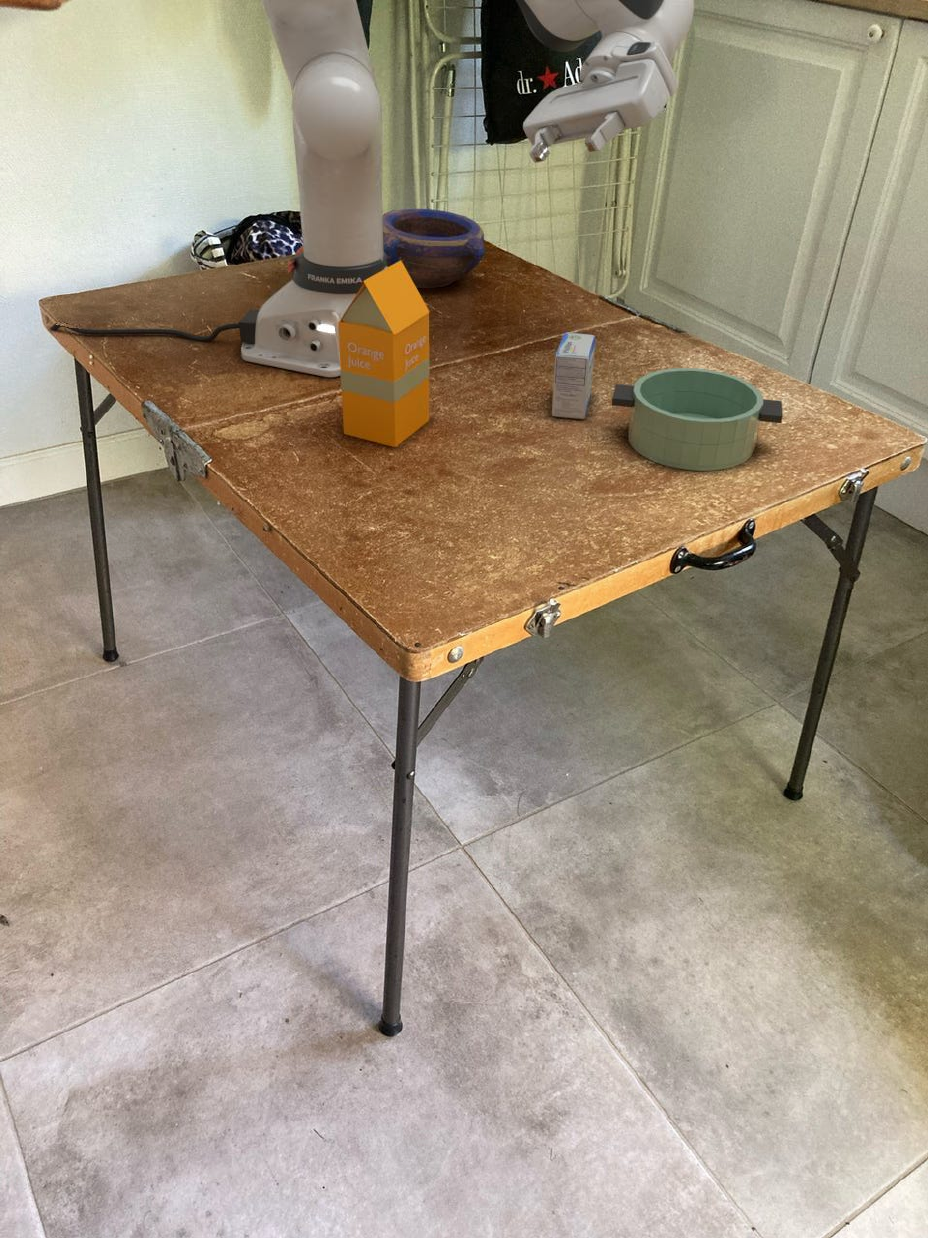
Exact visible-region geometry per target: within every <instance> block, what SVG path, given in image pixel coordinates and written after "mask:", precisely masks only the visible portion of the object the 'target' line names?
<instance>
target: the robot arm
mask: <svg viewBox="0 0 928 1238" xmlns="http://www.w3.org/2000/svg"><path fill="white" fill-rule="evenodd" d="M515 1H516V3H517V5H518V7H519V8H520V10H521V13H522V15H523V18H524V20H525V21H526V24H527V25H528V27H529V29H530V31H531V32H532V34H533V35H534V37H535V38H536V39H537V40H538V41H539V42H540V43H542V44H543V45H544V46H545V47H547V48H548V49H550V50H553V51H556V52H560V53H561V52H563V53H567V52H571V51H573V50H576V49H577V48H578V47H579V46H581V45H582V44H583V43H585V42H586V41H587V40H589V39H590V38H591V37H592V36H593V35H595V34H596V33H598V32H600V33H601V39H600V40H599V42H598V43H597V45H596V46H595V47H594V48H593V50H592V51H591V52H590V53H589V55H588V56H587V58H586V59H585V60H584V62H583V63H582V65H581V67H580V71H579V82H578V83H574V84H570V85H568V86H563V87H559V88H557V89H554V90H552V91H551V92H549V93H548V94H546V96H544V97H543V99H542V100H541V101H540V102H538V104H537V105H536V106H535V107H534V109H533V110H532V111H531V113H530V114H529V115H528V116H526V118H525V120H524V121H523V123H522V129H523V131H524V133H525V136H526V137H527V139H528V141H529V142H530V144H531V145H532V147H531V148H530V150H529V156H530V158H531V160H532V161H533V163H540V162H544V161H546V160H547V158H548V157H549V155H550V154H551V153H550V150H549V148H550V147H552V146H554V145H558V144H563V143H568V142H574V141H578V140H583V139H584V145H585V147H586V148H587V151H588V152H590V153H593V152H599V151H601V150H602V149H603V147H604V146H605V145H606V143H608V142H609V141H610V140H612V139H613V138H615V137H616V136H618V135H619V134H620V133H621V132H622V131H625V130H632V129H635V128H641V127H645V126H647V125H648V124H650V123H651V122H653V121H655V119H656V118H658V116H659V114H660V113H661V112H662V111H663V109H664V108H665V107H666V105H667V103H668V102H669V100H670V98H671V97H673V95H674V94H675V93H676V92H677V91H678V89H679V83H678V80H677V77H676V75H675V72H674V69H673V67H672V65H671V64H670V62H671V61H672V59H673V58H674V57H675V55H676V53H677V52H678V50H680V47H681V45H682V44H683V42H684V41H685V38H686V37H687V35H688V33H689V30H690V28H691V26H692V23H693V18H694V12H695V0H515ZM261 2H262V6H263V11H264V13H265V16H266V18H267V20H268V24H269V27H270V30H271V32H272V36H273V38H274V41H275V44H276V47H277V50H278V53H279V57H280V59H281V62H282V65H283V68H284V72H285V75H286V77H287V81H288V84H289V88H290V92H291V117H292V118H291V122H292V130H293V144H294V156H295V167H296V176H297V177H296V178H297V188H298V197H299V198H298V199H299V211H300V225H301V228H300V229H301V240H302V241H301V242H302V245H301V246H300V248H298V249H297V250H296V252H295V255H293V257H291V258H290V262H289V263H288V264H287V268H288V269H287V274H291V277H292V279H291V280H290V281H288V282H287V283H286V284H285V285H283V286H282V287H281V288H280V289H278V290H277V291H275V293H273V294H272V295H271V296H270V297H269V298H268V299H267V300H266V301H264V302H263V304H262V305H261V306H260V308H259V309H255V308H254V309H252V308H250V309H249V310H248V311H247V312H246V313H245V315H243V316H242V318H241V319H240V320H239V321H238V322H236V323H227V324H222V325H220V326H218V327H216V328H214V330H213V331H212V332H211V334H210V335H206V336H199V335H195V334H191V333H189V332H186V331H182V330H177V329H168V328H167V329H166V328H116V329H115V328H113V329H109V328H107V329H96V328H95V329H93V328H91V329H90V328H82V327H79V328H81V329H79V328H69V327H65V326H60V325H56V324H57V323H58V322H55V323H54V324H53V325H52V326H51V328H50V329H49V330H50V331H51V332H53V331H54V332H55V331H57V330H58V329H59V328H65V329H68V330H70V331H73V332H75V333H78V334H81V335H91V336H113V335H116V336H117V335H167V336H168V335H169V336H177V337H181V338H184V339H188V340H191V341H194V342H201V343H207V342H211V341H214V340H215V339H216V338H217V337H218V335H219V334H220V333H222V332H224V331H228V330H237V329H239V338H240V343H242V344H241V347H240V357H241V358H242V360H243V361H245V362H250V363H254V364H259V365H264V366H269V367H274V368H279V369H284V370H289V371H294V372H299V373H304V374H310V375H315V376H319V377H324V378H336V377H341V376H340V370H341V368H340V349H339V331H338V322H339V321H340V320H341V318H342V317H343V315H344V313H345V312H346V310H347V309H348V307H349V306H350V304H351V302H352V301H353V299H354V298H355V296H356V295H357V293H358V291H359V290H360V288H361V287H362V285H363V284H364V280H366V279H368V278H370V277H372V276H373V275H375V274H377V273H379V272H381V271H382V270H384V269H386V268H388V266H387V255H386V253H385V252H384V248H383V215H384V213H383V106H382V101H381V98H380V97H381V96H380V93H379V89H378V84H377V80H376V76H375V72H374V68H373V64H372V60H371V56H370V51H369V48H368V43H367V40H366V36H365V32H364V28H363V23H362V19H361V14H360V11H359V8H358V3H357V0H261ZM63 322H64V323H65V322H66V321H63ZM68 323H69V322H66V324H68Z"/></svg>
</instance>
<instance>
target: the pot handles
mask: <svg viewBox="0 0 928 1238" xmlns="http://www.w3.org/2000/svg"><path fill="white" fill-rule="evenodd" d="M633 390H634V385H630V384H621V383H616V384H615V386H614V390H613V392H612V393H613V394H612V398H611V406H612V407H613V406H614V407H623V408H630V409H631V408H633V402H634V398H633ZM783 417H784V416H783V401H782V400H774V399H766V398H763V408H762V411H761V413H760V417H759V421H760V422H766V423H772V424H773V423H774V424H782V421H783Z"/></svg>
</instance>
